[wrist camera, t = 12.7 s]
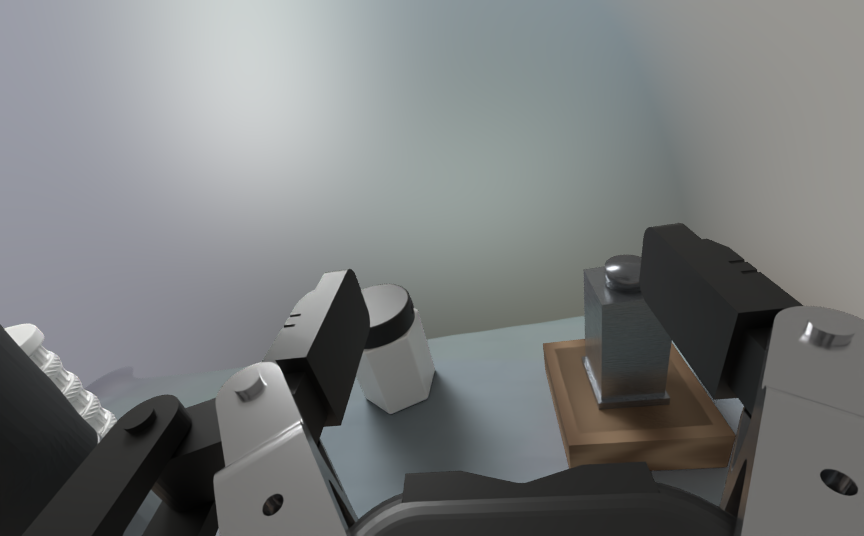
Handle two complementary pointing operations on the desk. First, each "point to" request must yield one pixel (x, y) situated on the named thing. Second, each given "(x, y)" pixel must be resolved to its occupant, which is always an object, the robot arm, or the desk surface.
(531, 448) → the desk surface
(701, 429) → the stand
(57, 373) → the decorative container
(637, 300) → the block
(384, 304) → the jar
